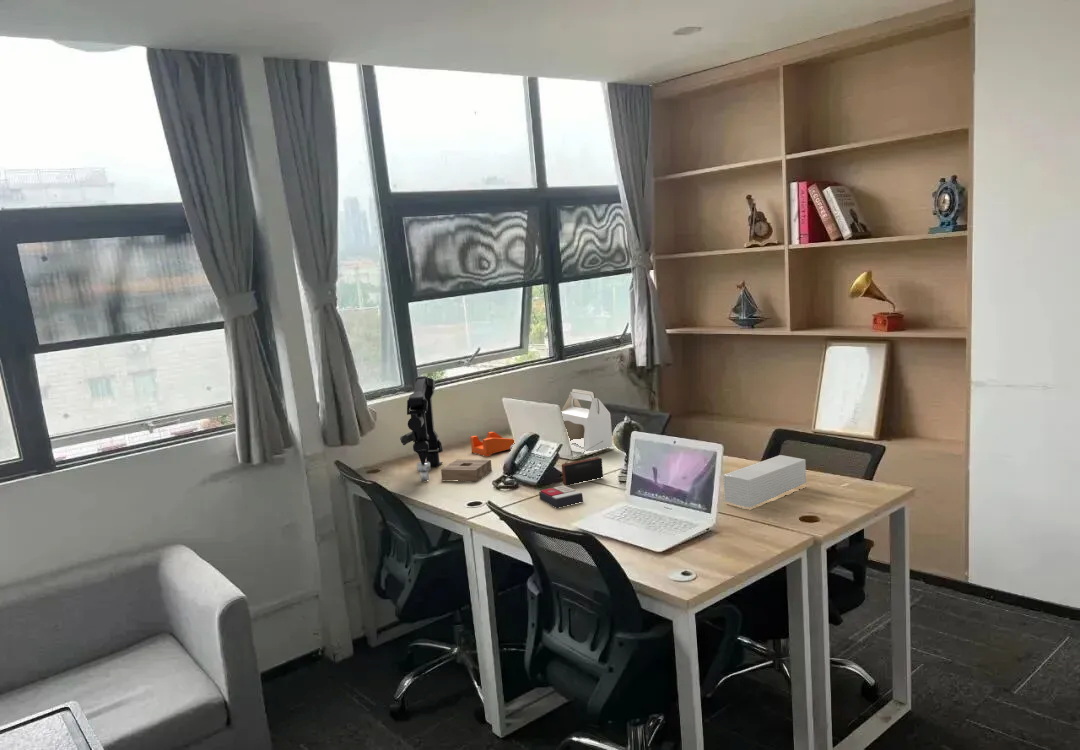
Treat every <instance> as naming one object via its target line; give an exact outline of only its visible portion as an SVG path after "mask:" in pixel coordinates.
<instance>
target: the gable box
mask: <svg viewBox="0 0 1080 750" xmlns="http://www.w3.org/2000/svg"><path fill="white" fill-rule="evenodd" d="M569 393H570V394H569V395H568V397H567V399H566V401H565V403H564V404H563V406H562V408H561V410H560V411H561V412H562V416H563V420H564V424H565V427H566V429H567V432H568V436H569V438H570V441H571V440H573V439H581V438H584V447H581V446H579V445H578V444H576V443H572V444H571V445H574V446H576V447H579V448H581V449H584V450H587V451H594V450H599V449H603V448H607V447H611V446H614V445H613V435H612V431H613V430H612V419H611V412H610V411H609V410H608V409H607V407H606V406H605V405H604V404H603V402H602V401H601V400H600V398H597V397H596V396H595V395H596V394H595V392H594V391H591V390H584V389H577V388H572V390H571V391H569ZM579 400H581V401H587V402H588V401H589V402H590V407H589V408H585V407H583V406H581V403H580V402H579ZM601 441H603V442H601ZM600 442H601V443H600ZM598 443H599V444H598ZM595 445H596V446H595ZM593 446H594V447H593ZM591 447H592V448H591ZM589 448H590V449H589ZM588 449H589V450H588Z"/></svg>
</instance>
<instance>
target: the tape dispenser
mask: <svg viewBox="0 0 1080 750" xmlns="http://www.w3.org/2000/svg"><path fill="white" fill-rule="evenodd" d="M513 439H514V438H507V437H506V438H505V437H502V436H501V434H498V433H497V432H495V431H489V432H487V435H486V438H484V439H482V441H481V440H480V439H479V437H478V435H472V436H470V446H471V453H472V452H473V453H472V454H474V453H477V454H476V455H478V454H480V455H479V456H482V455H484V456H483V457H485V456H488V457H491V456H492V454H495V453H499V452H503V451H506V450H507V451H508V450H510V447H511V446H512V445H513V443H514V440H513ZM490 455H491V456H490Z"/></svg>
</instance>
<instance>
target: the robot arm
mask: <svg viewBox="0 0 1080 750" xmlns="http://www.w3.org/2000/svg"><path fill="white" fill-rule="evenodd" d="M435 389H436V381H435V380H434V378H431V377H428V376H426V375H425V376H424V375H423V376H422V375H421V376H417V377H415V379H414V390H413V393H411V394H410V395H409V396H408V399H407V400H406V402H407V403H406V415H407V416H409V415H410V418H409V419H408V421H407V427H408V429H409V430H411V431H410V432H408V433H405V434H404V435H403V434H402V435H401V436H399V439H400V442H401V444H402V446H406V445H407V444H409V443H411V442H412V443H413V444H412V450H413V451H414V453H417V455H418V458H419V461H420V462H421V464H422V465H423V464H425V461H427V462H430V467H431V468H438V467H440V466H441V465H442V463H443V462H442V461H440V453H443V451H444V449H443V445H442V442H441V440H440V439H439V434H438V433H437V432H436V430H435V425H434V424H435V422H434V414H433V413H434V412H433V411H434V410H433V401H432V400H433V399H432V398H433V395H434V394H435ZM440 464H441V465H440ZM437 466H438V467H437Z"/></svg>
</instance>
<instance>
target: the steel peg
mask: <svg viewBox="0 0 1080 750" xmlns="http://www.w3.org/2000/svg"><path fill="white" fill-rule="evenodd" d="M416 468H417V470H416V471H417V472H418V473H420V480H421V482H422V481H426V482H428V481H427V480H429V481H430V473H429V472H430V471H431V469H432V467H430V462H427V460H425V464H423V465H422V464H421V461H420V462H417V463H416Z"/></svg>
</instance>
